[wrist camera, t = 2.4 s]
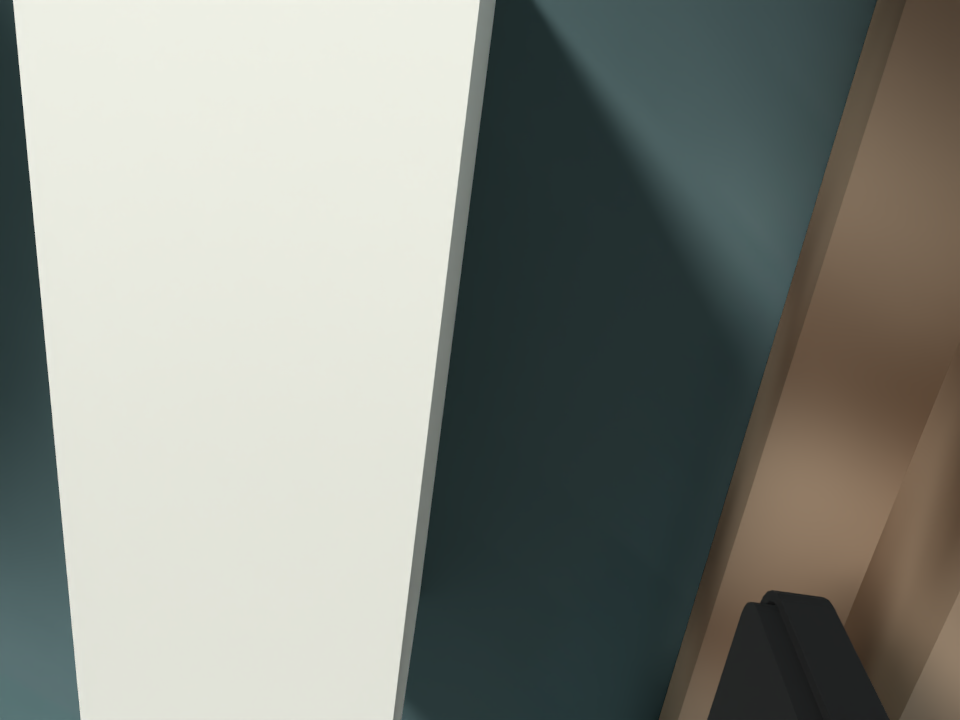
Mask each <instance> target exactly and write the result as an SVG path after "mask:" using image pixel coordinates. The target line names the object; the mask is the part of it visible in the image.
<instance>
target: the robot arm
mask: <svg viewBox="0 0 960 720" xmlns="http://www.w3.org/2000/svg"><path fill="white" fill-rule="evenodd" d="M707 720H890V719H889V717H888V715H887V713H886V711H885V709H884V707H883V705H882V703H881V701H880V699H879V697H878V695H877V693H876V691H875V689H874V687H873V685H872V683H871V681H870V679H869V677H868V675H867V673H866V671H865V669H864V667H863V665H862V663H861V661H860V659H859V657H858V655H857V653H856V651H855V649H854V647H853V645H852V643H851V641H850V639H849V637H848V635H847V632H846V630H845V628H844V626H843V624H842V622H841V620H840V618H839V616H838V614H837V612H836V610H835V608H834V607H833V605H832V604H831V602H830V601H829V600H828V599H826V598H824V597H819V596H812V595H804V594H797V593H790V592H782V591H775V590H771V591H767V592H766V594H765V595H764V596H763V597H762V600H761V602H760V603H756V602H748V603H747V604H746V605H745V606H744V608H743V610H742V613H741V616H740V619H739V622H738V625H737V628H736V631H735V634H734V638H733V641H732V644H731V647H730V650H729V653H728V656H727V659H726V662H725V666H724V669H723V672H722V675H721V678H720V681H719V684H718V687H717V690H716V694H715V697H714V700H713V703H712V706H711V709H710V712H709V715H708V718H707Z"/></svg>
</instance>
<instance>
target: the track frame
mask: <svg viewBox="0 0 960 720" xmlns="http://www.w3.org/2000/svg"><path fill="white" fill-rule="evenodd" d="M771 590H775V591H782V592H790V593H797V594H804V595H812V596H819V597H824V598H826V599H828V600H829V601H830V602H831V604H832V605H833V607H834V608H835V610H836V612H837V614H838V616H839V618H840V620H841V622H842V624H843V626H844V628H845V630H846V632H847V635H848V637H849V639H850V641H851V643H852V645H853V647H854V649H855V651H856V653H857V655H858V657H859V659H860V661H861V663H862V665H863V667H864V669H865V671H866V673H867V675H868V677H869V679H870V681H871V683H872V685H873V687H874V689H875V691H876V693H877V695H878V697H879V699H880V701H881V703H882V705H883V707H884V709H885V711H886V713H887V715H888V717H889V719H890V720H960V0H877V2H876V6H875V9H874V12H873V16H872V19H871V22H870V26H869V29H868V32H867V35H866V39H865V42H864V45H863V49H862V52H861V55H860V58H859V62H858V65H857V68H856V72H855V75H854V78H853V81H852V85H851V88H850V91H849V95H848V98H847V101H846V105H845V108H844V111H843V114H842V118H841V121H840V124H839V128H838V131H837V134H836V137H835V141H834V144H833V147H832V151H831V154H830V157H829V160H828V164H827V167H826V170H825V174H824V177H823V180H822V184H821V187H820V190H819V193H818V197H817V200H816V203H815V207H814V210H813V213H812V216H811V220H810V223H809V226H808V230H807V233H806V236H805V239H804V243H803V246H802V249H801V253H800V256H799V259H798V263H797V266H796V269H795V272H794V276H793V279H792V282H791V286H790V289H789V292H788V295H787V299H786V302H785V305H784V309H783V312H782V315H781V318H780V322H779V325H778V328H777V332H776V335H775V338H774V342H773V345H772V348H771V351H770V355H769V358H768V361H767V365H766V368H765V371H764V374H763V378H762V381H761V384H760V388H759V391H758V394H757V397H756V401H755V404H754V407H753V411H752V414H751V417H750V420H749V424H748V427H747V430H746V434H745V437H744V440H743V444H742V447H741V450H740V453H739V457H738V460H737V463H736V467H735V470H734V473H733V476H732V480H731V483H730V486H729V490H728V493H727V496H726V499H725V503H724V506H723V509H722V513H721V516H720V519H719V523H718V526H717V529H716V532H715V536H714V539H713V542H712V546H711V549H710V552H709V555H708V559H707V562H706V565H705V569H704V572H703V575H702V578H701V582H700V585H699V588H698V592H697V595H696V598H695V602H694V605H693V608H692V611H691V615H690V618H689V621H688V625H687V628H686V631H685V634H684V638H683V641H682V644H681V648H680V651H679V654H678V657H677V661H676V664H675V667H674V671H673V674H672V677H671V681H670V684H669V687H668V690H667V694H666V697H665V700H664V704H663V707H662V710H661V713H660V717H659V720H707V718H708V715H709V712H710V709H711V706H712V703H713V700H714V697H715V694H716V690H717V687H718V684H719V681H720V678H721V675H722V672H723V669H724V666H725V662H726V659H727V656H728V653H729V650H730V647H731V644H732V641H733V638H734V634H735V631H736V628H737V625H738V622H739V619H740V616H741V613H742V610H743V608H744V606H745V605H746V604H747V603H748V602H756V603H760V602H761V600H762V597H763V596H764V595H765V594H766V592H767V591H771Z"/></svg>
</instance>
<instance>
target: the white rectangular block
mask: <svg viewBox="0 0 960 720" xmlns="http://www.w3.org/2000/svg"><path fill="white" fill-rule="evenodd" d="M495 4H496V0H13V5H14V16H15V26H16V37H17V47H18V58H19V69H20V79H21V90H22V101H23V111H24V122H25V132H26V143H27V154H28V164H29V175H30V186H31V196H32V207H33V217H34V228H35V239H36V249H37V260H38V270H39V281H40V292H41V302H42V313H43V324H44V334H45V345H46V355H47V366H48V377H49V387H50V398H51V408H52V419H53V430H54V440H55V451H56V462H57V472H58V483H59V493H60V504H61V515H62V525H63V536H64V546H65V557H66V568H67V578H68V589H69V600H70V610H71V621H72V631H73V642H74V653H75V663H76V674H77V685H78V695H79V706H80V716H81V720H401V719H402V712H403V705H404V699H405V692H406V685H407V678H408V671H409V665H410V658H411V651H412V644H413V638H414V631H415V624H416V617H417V610H418V604H419V597H420V589H421V581H422V573H423V566H424V558H425V550H426V542H427V534H428V527H429V519H430V511H431V503H432V495H433V488H434V480H435V472H436V464H437V456H438V449H439V441H440V433H441V425H442V417H443V410H444V402H445V394H446V386H447V378H448V371H449V363H450V355H451V347H452V339H453V332H454V324H455V316H456V308H457V300H458V292H459V285H460V277H461V269H462V261H463V253H464V246H465V238H466V230H467V222H468V214H469V207H470V199H471V191H472V183H473V175H474V168H475V160H476V152H477V144H478V136H479V129H480V121H481V113H482V105H483V97H484V90H485V82H486V74H487V66H488V58H489V51H490V43H491V35H492V27H493V19H494V12H495Z"/></svg>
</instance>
